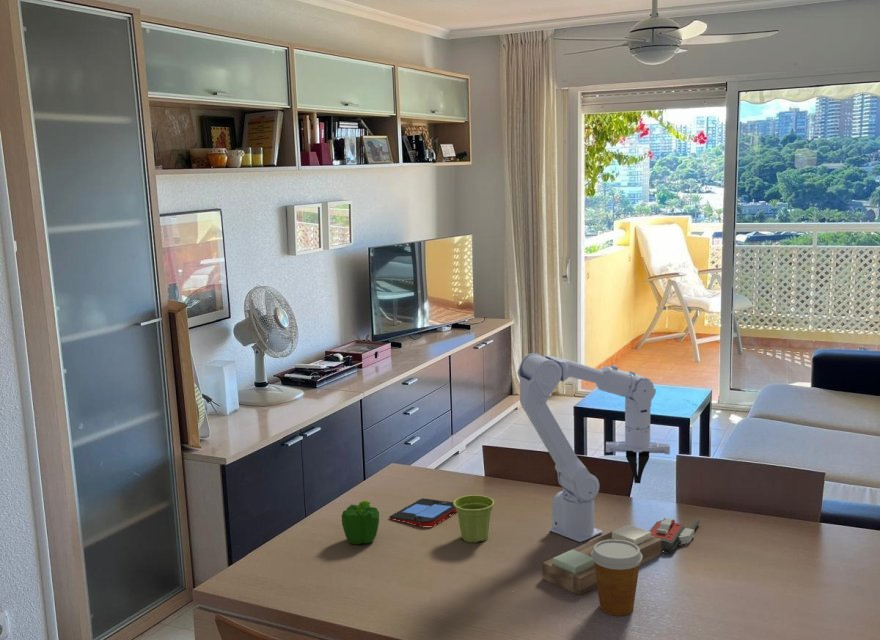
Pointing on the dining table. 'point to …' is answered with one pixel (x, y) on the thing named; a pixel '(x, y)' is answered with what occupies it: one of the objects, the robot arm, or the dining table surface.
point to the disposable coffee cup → (616, 575)
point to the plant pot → (474, 516)
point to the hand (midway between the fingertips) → (637, 481)
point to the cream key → (631, 534)
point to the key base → (588, 577)
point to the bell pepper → (360, 523)
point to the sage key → (573, 561)
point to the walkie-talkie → (672, 533)
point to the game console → (425, 512)
